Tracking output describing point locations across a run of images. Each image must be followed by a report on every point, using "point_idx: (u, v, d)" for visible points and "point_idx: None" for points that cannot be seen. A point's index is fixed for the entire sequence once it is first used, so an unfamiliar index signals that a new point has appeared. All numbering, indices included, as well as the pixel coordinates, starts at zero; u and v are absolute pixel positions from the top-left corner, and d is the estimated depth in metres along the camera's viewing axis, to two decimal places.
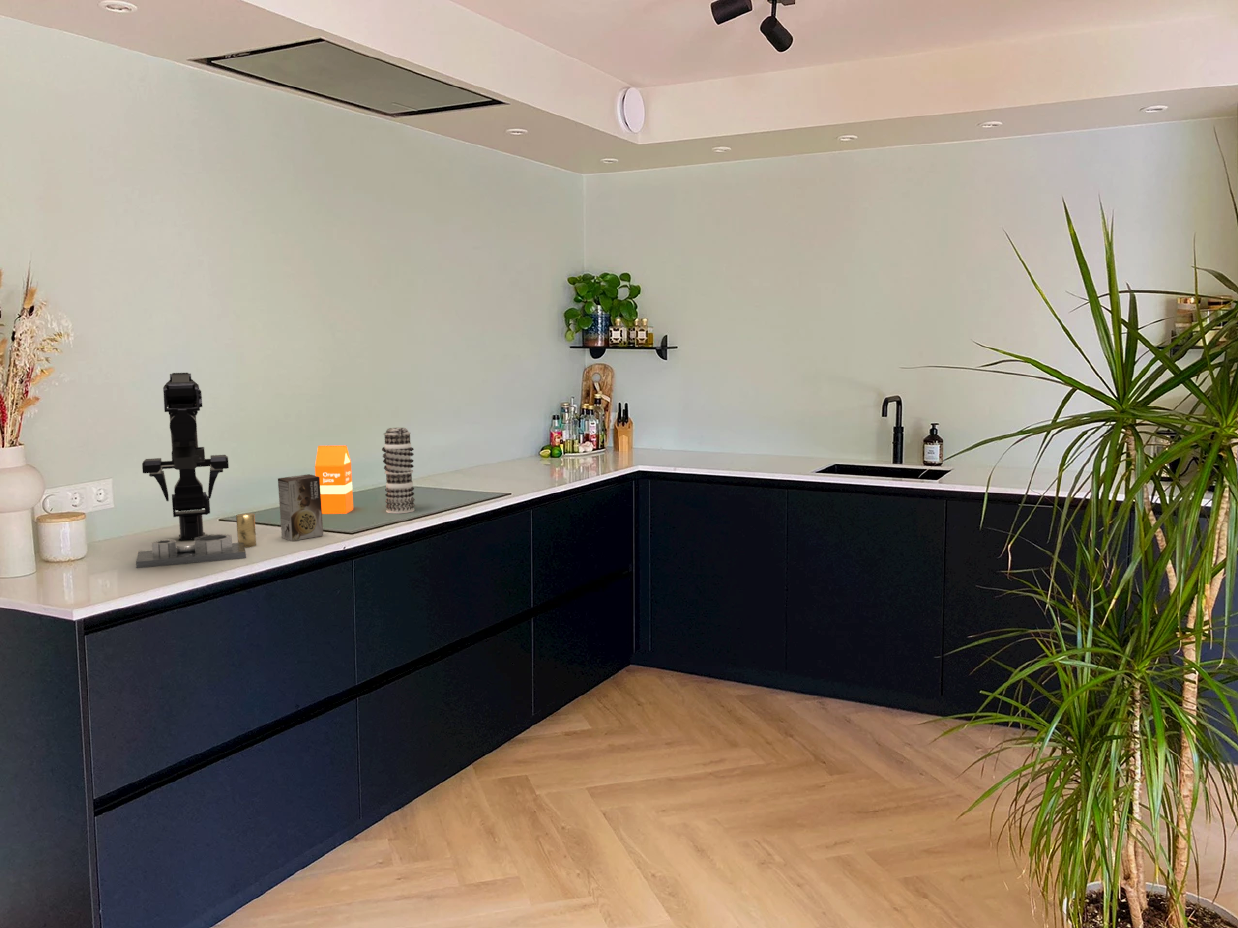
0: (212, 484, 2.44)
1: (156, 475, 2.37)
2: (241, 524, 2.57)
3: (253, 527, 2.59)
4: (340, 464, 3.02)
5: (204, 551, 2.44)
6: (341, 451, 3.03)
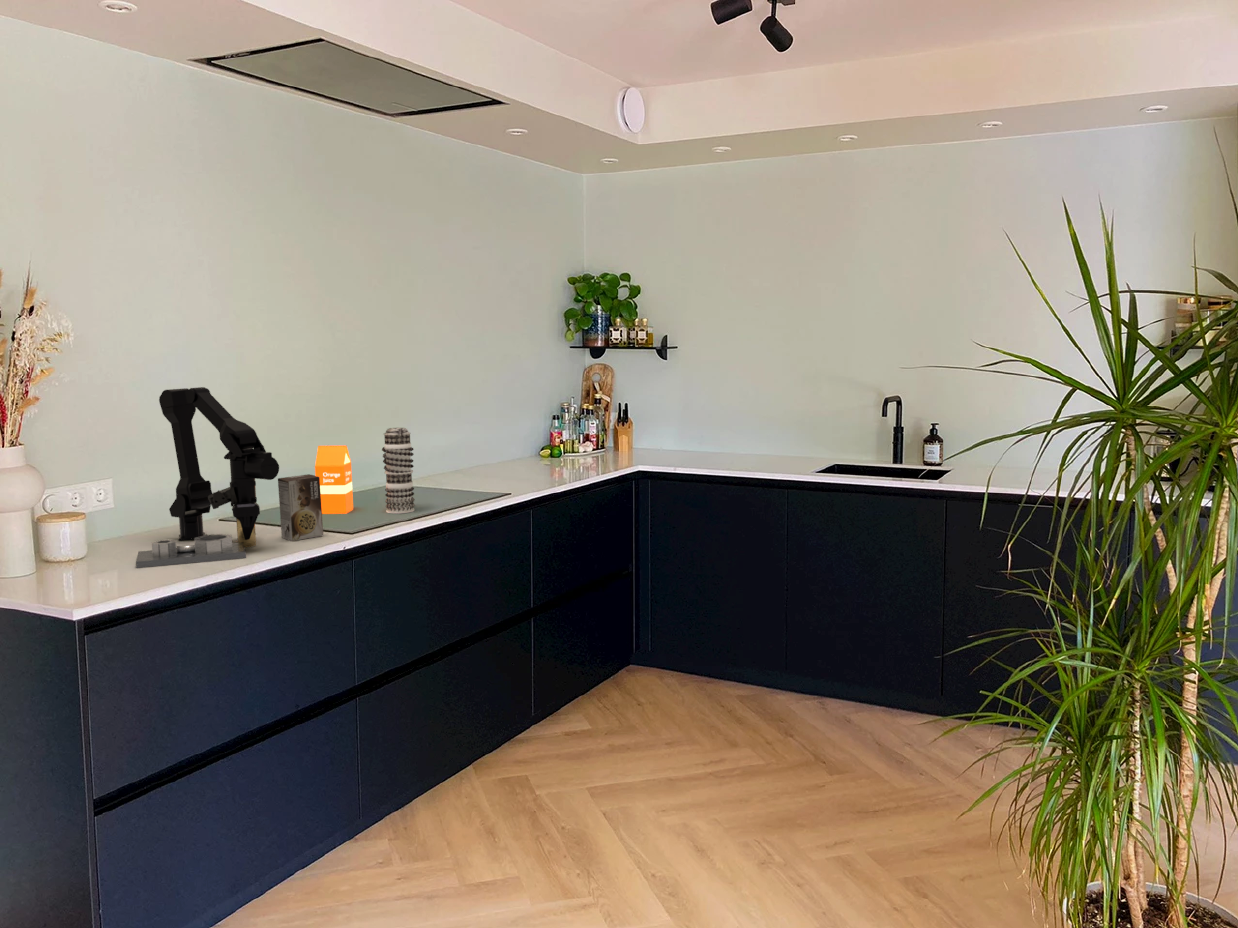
0: None
1: (232, 510, 2.62)
2: None
3: None
4: (340, 464, 3.02)
5: (204, 551, 2.44)
6: (341, 451, 3.03)
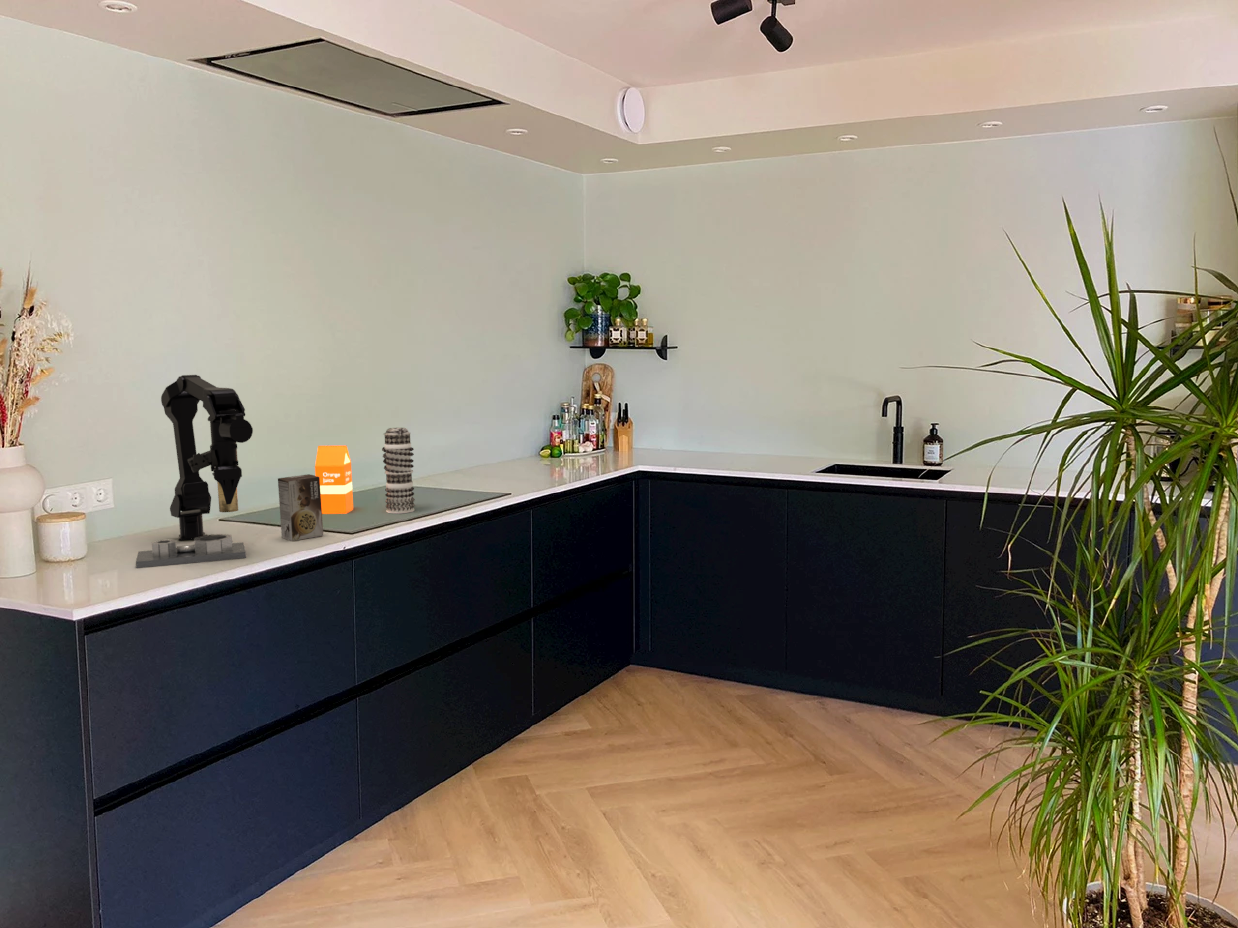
0: None
1: (213, 474, 2.54)
2: None
3: (235, 491, 2.52)
4: (340, 464, 3.02)
5: (204, 551, 2.44)
6: (341, 451, 3.03)
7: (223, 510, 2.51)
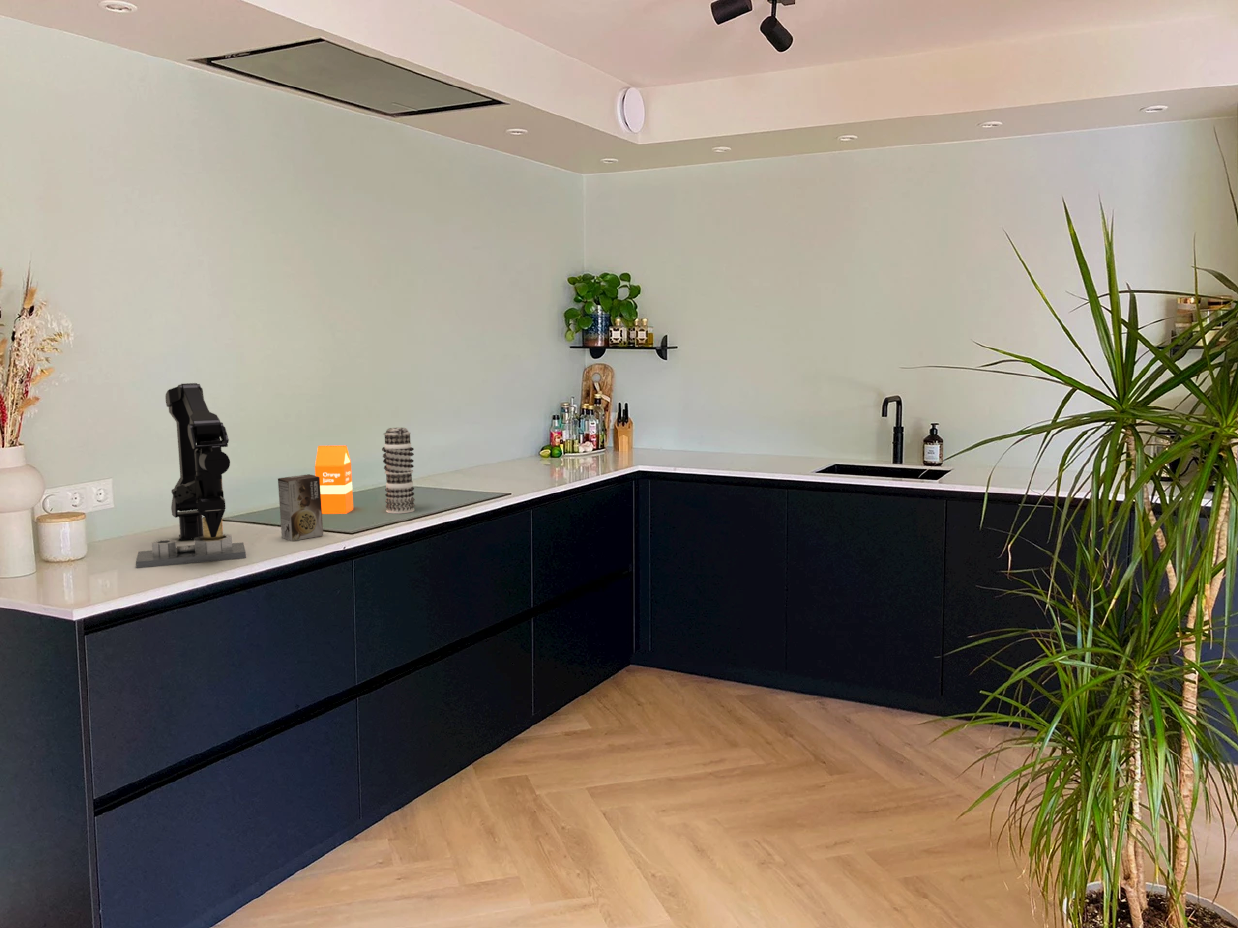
0: (207, 523, 2.42)
1: None
2: (207, 526, 2.46)
3: (220, 530, 2.48)
4: (340, 464, 3.02)
5: (204, 551, 2.44)
6: (341, 451, 3.03)
7: None
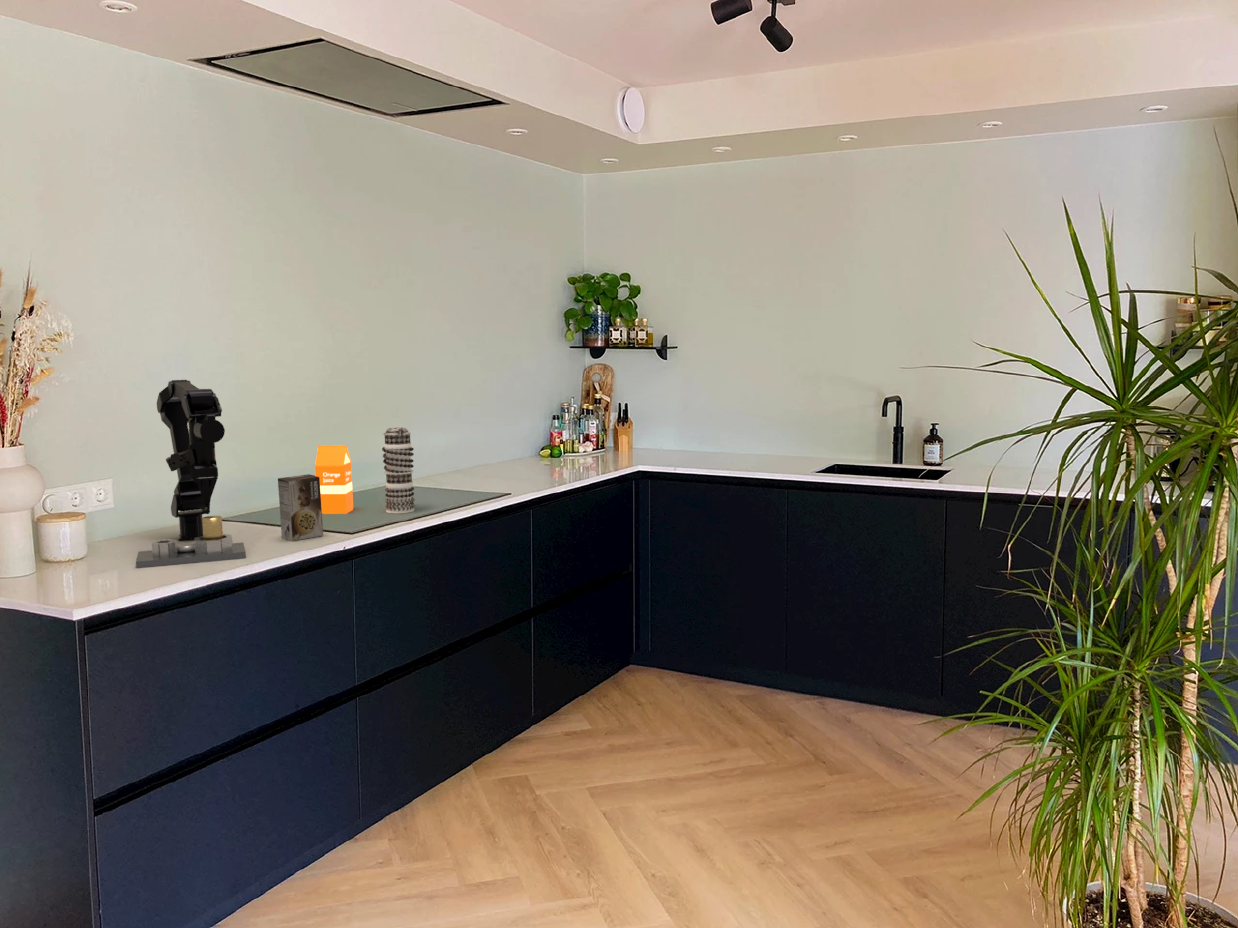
0: (200, 491, 2.50)
1: None
2: (207, 527, 2.46)
3: (220, 530, 2.48)
4: (340, 464, 3.02)
5: (204, 551, 2.44)
6: (341, 451, 3.03)
7: None
